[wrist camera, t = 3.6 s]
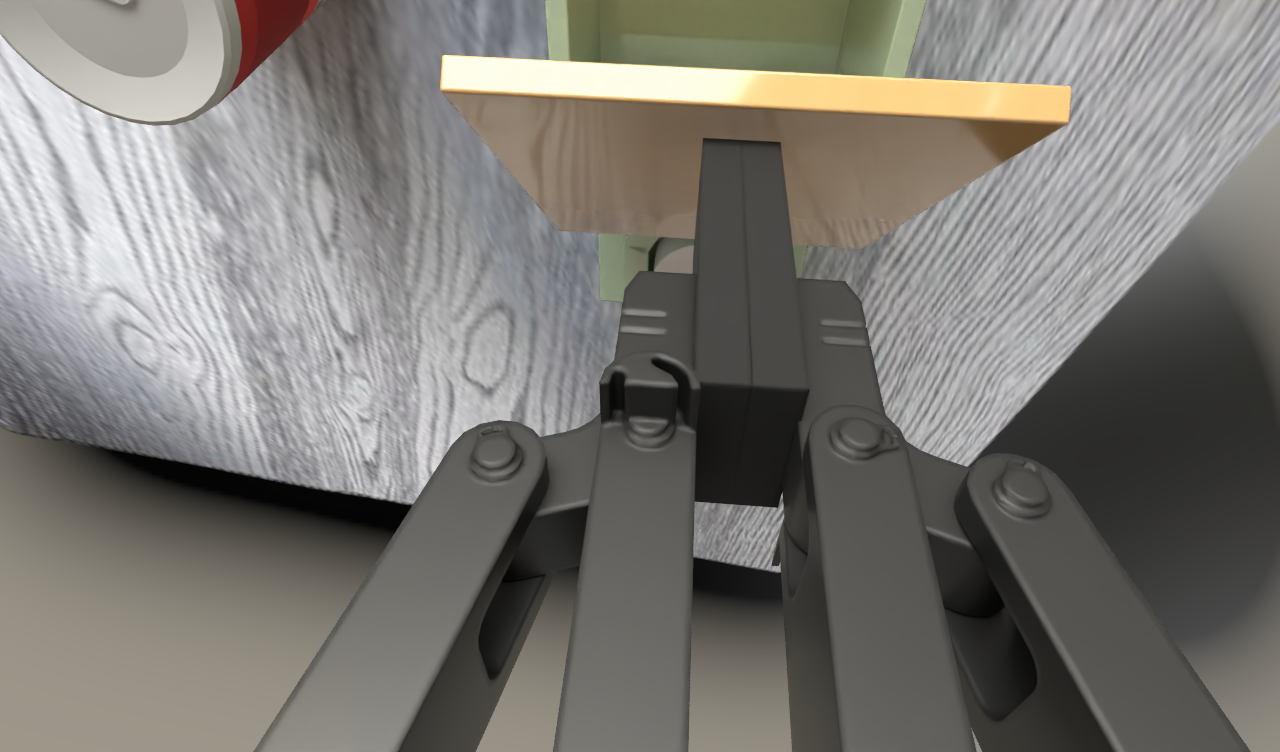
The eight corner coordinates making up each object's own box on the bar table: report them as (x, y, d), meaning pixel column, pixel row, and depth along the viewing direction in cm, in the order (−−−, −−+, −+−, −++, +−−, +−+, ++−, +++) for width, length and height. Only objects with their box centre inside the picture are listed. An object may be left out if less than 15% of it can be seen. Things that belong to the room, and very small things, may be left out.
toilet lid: (440, 52, 13) (438, 91, 13) (1073, 84, 13) (1071, 124, 13) (559, 212, 27) (558, 231, 27) (863, 230, 27) (862, 249, 27)
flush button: (653, 294, 35) (650, 318, 34) (656, 218, 32) (653, 241, 31) (743, 300, 35) (743, 324, 34) (755, 224, 32) (756, 247, 31)
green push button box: (606, 263, 40) (596, 324, 37) (604, 127, 34) (591, 183, 31) (789, 274, 40) (795, 337, 36) (817, 138, 34) (828, 197, 30)
